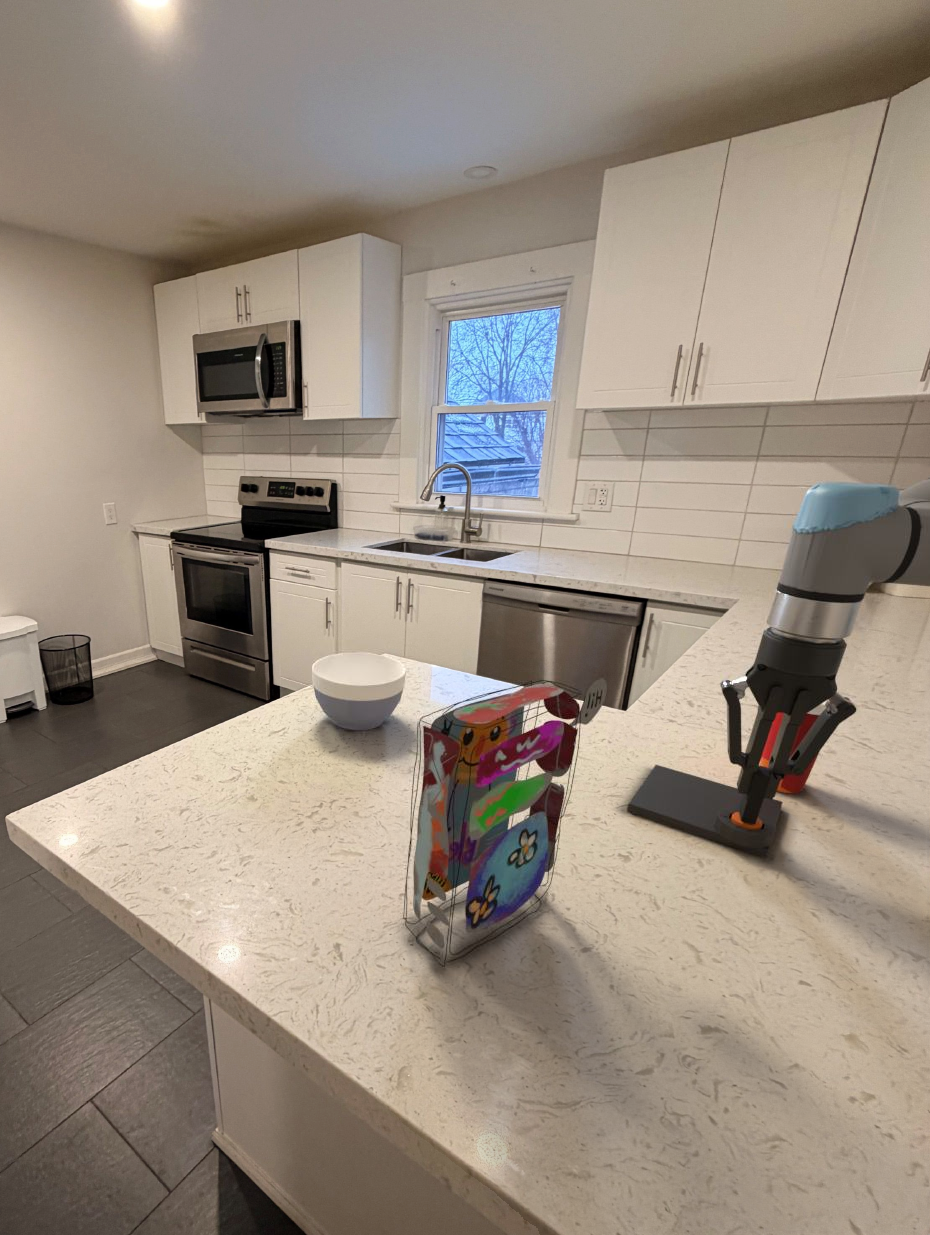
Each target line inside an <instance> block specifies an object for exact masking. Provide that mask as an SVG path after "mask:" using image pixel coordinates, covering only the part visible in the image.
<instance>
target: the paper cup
mask: <svg viewBox="0 0 930 1235" xmlns="http://www.w3.org/2000/svg"><path fill="white" fill-rule="evenodd" d="M826 702H827V700H826V701H825V702H823V703H822V704H820V705H819V706H817V707H816V708H814V709H813V710H811V711H810V712H808V713H806V714H805V716H804V719H803V722H802V725H801V726H800V727H799V730H798V733H797V736H796V739H795V742H794V745H793V748H792V751H791V754H790V757H791V756H792V754H793V753H794V751H795V750H796V748H797V747H798V746H799V744H800V743H801V741H802V740H803V738H804V737H805V736H806V734H807V733H808V731H809V730H810V728H811V727H812V726H813V724H814V723H815V721H816V720H817V718H818V717H819V716H820V714H821V713H822V712H823V711H824V710H825V707H824V705H825V703H826ZM782 719H783V713H777V714H776V717H775V720H774V721H773V723H772V726H771V729H770V732H769V735H768V739H767V742H766V745H765V748H764V751H763V754H762V757H761V760H760V763H759V766H763V767H767V768H768V766H769V765H768V763H769V760H770V756H771V753H772V750H773V747H774V744H775V741H776V738H777V734H778V731H779V728H780V725H781V722H782ZM820 752H821V750H820V751H819V753H818V754H817V755H816V757H815V758H814V760H813V761H812V762H811V764H810V765H809V767H808V768H807V769H806V771H805V772H804V773H803V774H802V775H800V776H795V775H793V774H791V775H785V778H784V779H783V780H780V783H779V786H778V789H777V792H780V793H784V794H798V793H801V792H802V791H803V789H804V788H805V786H806V783H807V782H808V779H809V776H810V774H811V772H812V770H813V768H814V765H815V763H816V761H817V759H818V756H819V754H820ZM790 757H789V758H790Z"/></svg>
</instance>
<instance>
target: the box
mask: <svg viewBox="0 0 930 1235" xmlns="http://www.w3.org/2000/svg"><path fill="white" fill-rule="evenodd" d="M540 682H542V683H540ZM535 683H536V684H535ZM546 683H550V684H553V685H555V686H553V685H550V684H546ZM526 685H529V686H526ZM561 685H562V686H561ZM522 686H523V687H522ZM563 686H565V687H567V688H565V687H563ZM520 687H522V688H520ZM516 688H520V689H519V690H516V691H514V692H511V693H505V694H502V695H498V696H494V697H490V698H486V699H482V698H485V697H488V696H490V695H492V694H497V693H501V692H504V691H508V690H511V689H512V690H513V689H516ZM568 688H570V689H572V690H570V689H568ZM607 688H608V686H607V681H606V680H605V678H604V677H601V678H598V679H596V680H595V681H594V682H592V684H591V685H590V687H589V688H588V690H587V691H586V694H584V699H583V702H582V705H581V706H580V703H578V701H577V700H576V699H575V698H577V697H578V696H579V695H580V696H583V694H582V690H580V689H578V688H575V687H572V686H569V685H567V684H564V683H561V682H556V681H552V680H547V679H546V680H545V679H541V680H536V681H533V679H531V680H528V681H527V682H525V683H522V684H520V685H517V686H512V687H508V688H504V689H500V690H495V691H491V692H487V693H483V694H480V695H476V696H472V697H470V698H467V699H465V700H462V701H458V702H456V703H454V704H451V705H448V706H446V707H445V708H444V707H443V708H442V709H441V708H440V709H439V710H436V711H433V712H430V713H429V714H427V715H423V716H422V717H420V718H419V719H417V720H418V724H417V727H416V754H415V762H414V767H413V775H412V785H411V798H410V800H411V802H410V818H411V820H410V824H409V825H410V828H409V830H410V839H409V845H408V856H407V868H406V876H405V877H406V878H405V886H404V896H405V897H404V900H403V913H402V914H403V916H402V919H403V920H404V921H405V922H404V923H405V924H404V925H405V926H404V927H406V928H407V929H408V931H409V932H410V933H411V934H412V935H413V936H414V938H415V941H416V942H417V943H418V944H419V945H420V946H421V947H422V948H424V949H425V950H426V951H427V952H429V953H430V955H431V956H432V957H433V959H434V961H436V962H437V963H438V965H440V966H441V967H442V968H445V967H446V962H448V963H450V962H454V961H456V960H458V959H461V958H463V957H465V956H467V955H468V954H470V953H471V952H473V950H475V949H477V948H478V947H480V946H482V945H485V944H487V943H489V942H491V941H493V940H495V939H497V938H498V937H499V936H501V935H502V934H503V933H504V932H506V931H507V930H509V929H511V928H514V927H515V926H516V925H518V924H519V923H521V922H522V921H523V920H524V919H526V918H527V917H529V915H532V914H534V913H536V912H538V911H539V909H540V908H541V906H542V901H541V900H542V898H543V897H544V896H545V894H546V893H547V892H548V890H549V889H550V886H551V884H552V882H553V876H554V872H555V871H554V870H555V865H556V861H557V857H558V851H559V843H560V837H561V835H560V834H561V826H562V825H561V824H562V818H563V817H564V815H565V812H566V809H567V806H568V803H569V800H570V796H571V794H572V789H573V784H574V783H573V782H574V779H575V778H574V777H575V772H576V766H577V762H578V756H579V751H580V750H579V749H580V740H581V739H580V738H581V724H582V725H585V726H586V725H588V724H590V723H591V722H592V721H593V719H594V718H595V717H596V716H597V714H598V713H599V711H600V710H601V708H602V706H603V704H604V702H605V700H606V696H607V690H608V689H607ZM565 690H566V691H568V692H570V693H573V694H576V695H574V696H572V695H571V694H569V693H568V692H566V691H565ZM573 690H575V691H573ZM477 699H478V701H474V700H477ZM479 699H482V700H479ZM471 701H473V702H471ZM541 701H543V705H540V703H541ZM465 702H470V703H467V704H465V705H462V706H459V707H456V706H458V705H459V704H463V703H465ZM537 702H538V703H537ZM535 703H537V704H538V706H536V707H531V705H532V704H535ZM525 706H528V708H527V709H526V710H525ZM455 707H456V708H455ZM544 707H545V709H546V711H544V712H541V713H539V708H544ZM453 708H454V709H453ZM446 709H447V710H446ZM451 709H452V710H451ZM535 709H536V710H537V711H536V715H534V716H532V717H530V718H528V715H529V711H531V710H535ZM444 710H446V711H444ZM441 711H444V712H443V713H442V715H439V716H438V717H437V718H435V719H434V720H433V722H432V723H429V722H427V721H424V720H422V719H423V718H425V717H429V716H431V715H433V714H436V713H439V712H441ZM525 713H526V715H525ZM546 713H549V714H550V715H552V716H553V717H555V718H558V719H560V720H555V719H554V720H553V719H552V720H548V721H544V723H543V724H541V725H540V726H536V725H537V720H538V717H539V716H542V715H543V714H546ZM524 715H525V719H524ZM534 718H535V721H534V722H535V723H534V727H533V728H532V729H530V730H527V731H525V725H526V722H528V721H530V720H531V719H534ZM562 720H572V722H570V723H567V722H565V721H562ZM421 722H422V723H424V724H427V725H429V726H430V727H428V726H427V725H422V728H421ZM577 725H579V726H578V727H577ZM421 729H422V730H421ZM422 732H423V736H422V734H421V733H422ZM577 736H578V744H577ZM422 737H423V774H422V785H421V786H422V788H421V792H420V794H421V795H420V800H419V807H418V812H417V813H418V814H417V829H416V830H417V833H416V844H415V850H414V856H413V870H412V871H413V897H412V908H413V912H414V916H416V918H417V919H418V921H416V922H415V923H413V922H409V921H408V920H407V918H408V874H409V864H410V858H411V850H412V842H413V841H412V834H413V826H414V817H415V816H414V815H415V808H416V802H417V796H418V789H419V788H418V787H419V781H420V780H419V779H420V770H421V760H422V744H421V743H422V742H421V740H422V739H421V738H422ZM576 745H577V751H576V757H575V763H574V769H573V775H572V778H571V784H570V777H571V771H572V766H573V760H574V755H575V748H576ZM418 750H419V751H418ZM418 752H419V764H418V774H417V783H416V792H415V797H414V785H415V784H414V783H415V771H416V767H417V762H418ZM533 761H535V763H536V764H537V766H538V767H539V768H540V769H541V770H542V771H543V772H542V773H540V774H537V775H534V776H532V777H529V778H528V774H529V770H530V766H531V762H533ZM526 764H528V768H527V772H526V775H525V776H526V777H525V779H524V780H523V779H522V780H519V775H520V769H521V767H523V766H524V765H526ZM568 771H569V773H568ZM567 773H568V780H567V786H566V792H565V786H564V785H563V784H560V783H559V784H557V783H555V782H553V777H555V778H560V777H564V776H565V775H566V774H567ZM569 784H570V790H569ZM568 790H569V791H570V792H569V794H568ZM567 795H568V798H567ZM413 797H414V805H413ZM566 798H567V800H566ZM528 809H529V814H527V815H525V816H524V819H523V820H520V822H517V823H516V824H514V825H513V822H514V815H516V814H519V813H523V812H524V811H526V810H528ZM510 817H511V818H512V819H511V825H510V828H509V824H510ZM557 833H558V834H557ZM556 843H557V845H556ZM555 850H556V851H555ZM551 870H552V873H551V878H549V874H550V871H551ZM546 873H547V881H546V883H544V884H543V885H541V884H542V882H543V880H544V876H545V875H546ZM549 879H550V882H549ZM466 883H468V886H466V887H464V888H462V889H461V890H460V891H459V892H457V888H458V887H460V886H461V885H464V884H466ZM548 883H549V885H548V887H547V889H546V890H545V892H544V893H543V894H542V895H541V896H540V898H539V896H537V895H536V893H537V891H538V890H539V887H544V886H546V885H547V884H548ZM466 889H467V891H466V892H467V893H466V899H465V900H463V901H460V902H456V897H457V896H458V895H460V894H461V893H462V892H463V891H464V890H466ZM450 891H452V892H451V898H450V899H448V900H447V894H446V893H448V892H450ZM533 896H535V897H536V899H537V900H536V901H535V902H533V904H531V905H530V906H529V907H528V908H526V909H525V910H524V911H523V912H522V913H520V914H519V915H518V916H516V917H514V918H513V919H511V920H509V921H508V922H506V923H505V924H503V925H500V926H499V927H498V928H496V929H495V930H493V931H491V932H490V933H489V934H487V935H486V936H484V937H483V938H481V939H480V940H478V941H476V942H473V943H472V944H470V945H468V946H466V947H465V948H463V949H462V950H460V951H458V952H456V953H452V952H451V943H452V932H453V920H454V911H455V906H457V905H459V904H461V903H462V904H463V903H464V902H465V909H464V910H465V911H464V912H465V913H464V914H465V915H464V916H465V932H466V933H467V935H472V934H476V933H479V932H482V931H486V930H488V929H490V928H492V927H494V926H495V925H497V924H499V923H500V922H502V921H504V920H506V919H507V918H509V917H511V916H513V915H514V913H516V912H517V911H518V910H519V909H520V908H521V907H523V906H524V905H525V904H526V903H527V902H528V901H530V900H531V898H532V897H533ZM436 898H438V899H439V900H441V901H442V903H441V904H440V905H439V906H437V905H436V904H434V903H432V902H431V901H429V900H433V899H436ZM422 900H424V901H427V902H426V903H427V904H426V905H427V908H428V911H429V912H430V913H429V914H426V915H425V916H423V917H421V913H422V912H421V911H422V910H421V904H422ZM448 902H450V905H449V906H448V907H446V908H444V909H443V910H442V909H441V908H440V907H441V906H443V905H444V904H445V903H448ZM538 902H539V903H540V904H539V905H538V908H537V909H536V910H534V911H532V912H530V913H527V914H526V915H525V916H524V917H522V918H521V919H520V920H518V922H516V923H514V924H513V925H511V926H509V927H508V928H506V929H504V930H503V931H502V932H500V933H499V934H498V935H496V936H495V937H492V938H491V939H489V940H487V941H484V942H482V941H483V940H485V939H487V938H488V937H489V936H491V935H492V934H493V933H495V932H496V931H498V930H499V929H501V928H503V927H504V926H507V925H508V924H510V923H511V922H513V921H515V920H516V919H518V918H519V917H521V916H522V915H523V914H525V913H526V912H528V910H529V909H531V908H532V907H533V906H535V905H536V903H538ZM449 908H450V909H449ZM448 909H449V910H450V911H449V919H448V917H447V915H446V913H445V912H444V911H446V910H448ZM430 915H433V916H434V919H432V920H431V921H429V920H428V921H427V922H426V925H425V927H424V928H423V929H422V930H421V931H420V932H419V933H418V934H417V935H415V934H414V933H413V931H412V930H411V929H410V928H409V927H408V926H407V923H408V924H410V925H416V924H418V923H419V922H421V921H422V920H423V919H425V918H426V917H428V916H430ZM436 919H438V920H439V921H440V922H441V923H442V924H443V925H444V926H447V927H448V928H447V937H446V938H447V939H446V940H445V937H444V934H443V933H442V931H441V930H440V929H439V928H438V927H437V926H435V925H434V924H433V922H434V921H435V920H436ZM424 930H426V933H427V935H428V936H429V938H430V939H431V941H432V942H433V943H434V944H435V945H436V946H437V947H438V948H440V949H444V948H445V956H444V957H445V958H444V960H442V959H441V958H440V957H439V956H437V955H436V954H435V953H433V951H431V950H429V948H428V947H427V946H426V945H425V944H424V943H423V942H422V941H421V940H420V939H419V938H418V937H419V935H420V934H422V932H423V931H424ZM449 935H450V936H449ZM445 941H446V942H445ZM480 942H482V943H480ZM448 943H449V946H448ZM478 943H480V944H478ZM476 944H478V945H476ZM474 945H476V946H475V947H473V948H471V950H469V951H468V952H467V953H465V954H463V955H461V956H459V957H456V958H453V959H451V960H447V952H448V950H449V953H450V955H451V956H457V955H458V954H459V955H460V954H461V953H462V952H464V951H465V950H466V949H468V948H470V947H472V946H474ZM445 946H446V947H445ZM448 947H449V948H448ZM438 960H440V962H441V961H442V962H443V964H441V963H440V962H439V961H438ZM446 960H447V961H446Z"/></svg>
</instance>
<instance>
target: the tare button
mask: <svg viewBox="0 0 930 1235" xmlns="http://www.w3.org/2000/svg"><path fill="white" fill-rule="evenodd" d="M731 821H732V822H733V823H734V824H736V825H738V826H739V827H742V828H746V829H749V830H761V827H762V821H761V820H760V819H759V818H757V821H756V824H751V823H747V822H742V821H741V819H740V814H739V812H735V813H733V815H732V817H731Z"/></svg>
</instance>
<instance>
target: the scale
mask: <svg viewBox="0 0 930 1235" xmlns="http://www.w3.org/2000/svg"><path fill="white" fill-rule="evenodd" d="M742 797H743V794H741V793H739V792H738V788H737V787H734V786H730V785H728V784H723V783H720V782H717V781H714V780H710V779H706V778H704V777H699V776H697V775H693V774H689V773H686V772H682V771H679V770H676V769H672V768H670V767H666V766H662V765H659V764H654V766H653V767H652V769H651V771H650V772H649V773H648V775H647V776H646V777H645V779H644V781H643V782H642V783H641V785H640V786H639V788H638V789H637V790H636V792H635V794H634V795H633V796H632V798H631V799H630V801H629V802H628V804H627V808H626V811H627V812H629V813H632V814H635V815H638V816H641V817H644V818H647V819H649V820H651V821H652V820H653V821H655V822H658V823H662V824H664V825H666V826H670V827H673V828H677V829H679V830H682V831H685V832H687V833H690V834H692V835H693V834H694V835H697V836H699V837H702V838H705V839H709V840H712V841H714V842H716V843H720V844H723V845H726V846H729V847H732V848H735V849H736V850H737V849H738V850H740V851H743V852H747V853H748V854H749V853H750V854H752V855H754V856H757V857H761V858H764V859H767V858H768V855H769V852H770V849H771V846H772V844H773V841H774V839H775V838H774V837H775V835H776V831H777V824H778V820H779V817H780V813H781V809H782V806H783V801H781V800H778V799H775V798H773V799H772V800H771V799H766V798H764V799H763V802H762V805H761V808H760V812H759V815H758V818H759V819H760V820H761V821H762V827H761V830H749V829H746V828H742V827H739V826H738V825H736V824H734V823H733V822H732V821H731V817H732V815H733V813H735V812H739V807H740V804H741V801H742Z"/></svg>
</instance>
